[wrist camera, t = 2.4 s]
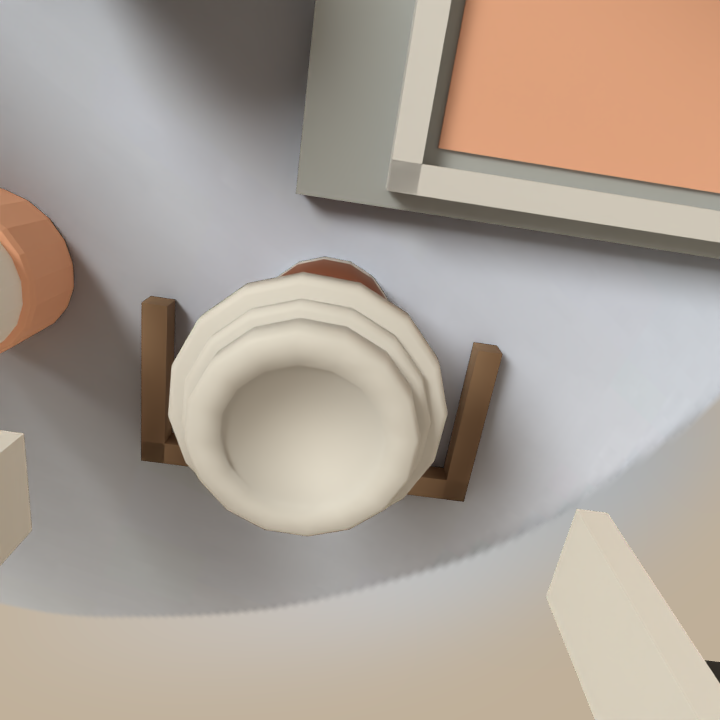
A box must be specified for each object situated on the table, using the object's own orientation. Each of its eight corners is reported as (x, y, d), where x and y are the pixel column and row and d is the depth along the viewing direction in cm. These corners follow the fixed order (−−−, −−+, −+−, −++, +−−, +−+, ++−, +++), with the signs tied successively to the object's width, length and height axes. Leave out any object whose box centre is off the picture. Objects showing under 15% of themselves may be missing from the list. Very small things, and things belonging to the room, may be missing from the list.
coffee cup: (375, 426, 29) (383, 598, 18) (212, 367, 28) (114, 512, 17) (448, 271, 26) (512, 364, 15) (269, 197, 25) (194, 239, 14)
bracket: (149, 448, 30) (141, 460, 29) (150, 296, 27) (141, 302, 26) (460, 488, 31) (463, 501, 30) (496, 345, 28) (502, 354, 27)
